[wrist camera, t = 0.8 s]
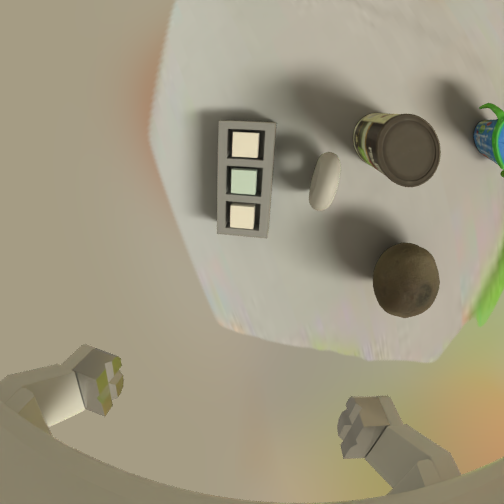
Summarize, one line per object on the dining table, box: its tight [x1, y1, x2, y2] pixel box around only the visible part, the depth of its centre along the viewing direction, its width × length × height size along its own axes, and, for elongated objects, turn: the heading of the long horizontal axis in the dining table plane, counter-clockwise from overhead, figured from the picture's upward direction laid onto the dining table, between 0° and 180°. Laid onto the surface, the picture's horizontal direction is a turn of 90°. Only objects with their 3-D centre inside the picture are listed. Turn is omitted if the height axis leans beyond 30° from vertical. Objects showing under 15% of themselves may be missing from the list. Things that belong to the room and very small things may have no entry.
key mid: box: [231, 167, 257, 195], centre depth 46 cm, size 4×4×2 cm
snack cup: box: [473, 103, 504, 177], centre depth 34 cm, size 16×10×10 cm
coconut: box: [373, 243, 440, 318], centre depth 48 cm, size 14×14×15 cm
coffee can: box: [353, 113, 441, 187], centre depth 38 cm, size 10×10×14 cm
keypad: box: [217, 120, 276, 238], centre depth 48 cm, size 20×9×5 cm, turn 177°
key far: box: [230, 202, 255, 229], centre depth 49 cm, size 4×4×2 cm
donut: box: [309, 152, 341, 211], centre depth 44 cm, size 10×4×10 cm, turn 169°
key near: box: [232, 132, 260, 158], centre depth 43 cm, size 4×4×2 cm
